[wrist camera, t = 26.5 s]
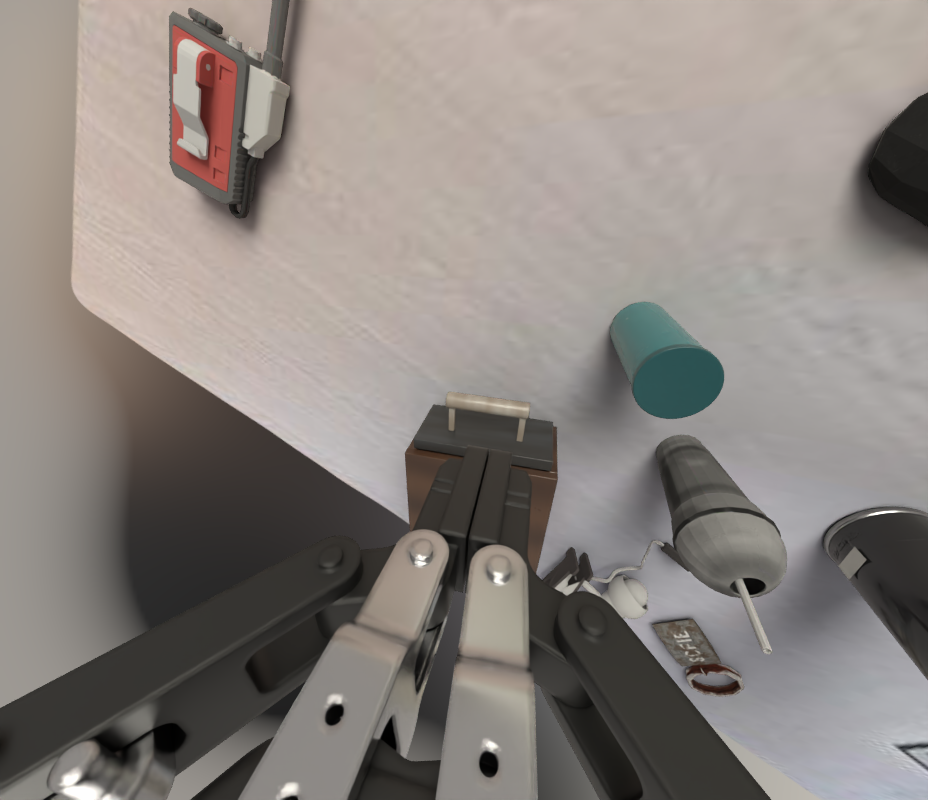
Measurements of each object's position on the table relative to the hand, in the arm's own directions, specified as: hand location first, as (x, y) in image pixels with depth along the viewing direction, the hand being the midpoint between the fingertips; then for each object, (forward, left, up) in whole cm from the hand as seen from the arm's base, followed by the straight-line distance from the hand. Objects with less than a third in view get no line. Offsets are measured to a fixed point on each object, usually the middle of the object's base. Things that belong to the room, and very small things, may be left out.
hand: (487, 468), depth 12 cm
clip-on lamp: (-16, +35, -25) cm, 46 cm away
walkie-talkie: (+26, -15, -25) cm, 39 cm away
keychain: (-32, +51, -25) cm, 66 cm away
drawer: (+3, +18, -24) cm, 30 cm away
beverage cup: (-18, +15, -25) cm, 34 cm away
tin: (-10, +2, -25) cm, 27 cm away
